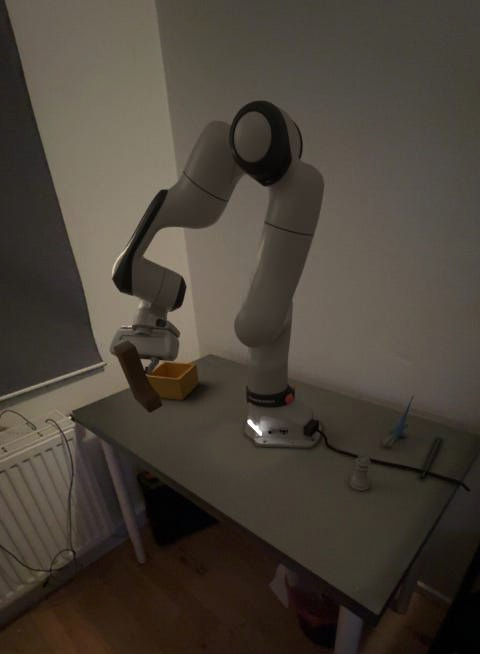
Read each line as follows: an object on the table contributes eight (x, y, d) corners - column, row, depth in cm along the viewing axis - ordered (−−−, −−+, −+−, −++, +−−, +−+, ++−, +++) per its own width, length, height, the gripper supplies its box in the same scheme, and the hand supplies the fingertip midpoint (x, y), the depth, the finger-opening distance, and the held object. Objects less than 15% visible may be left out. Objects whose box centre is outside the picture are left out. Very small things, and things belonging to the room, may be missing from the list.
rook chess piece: (365, 478, 83) (370, 451, 79) (372, 491, 79) (377, 463, 75) (346, 479, 83) (350, 452, 79) (352, 492, 79) (356, 465, 75)
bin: (198, 383, 133) (196, 364, 129) (182, 400, 122) (178, 379, 118) (167, 380, 137) (164, 361, 133) (149, 396, 127) (144, 376, 122)
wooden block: (163, 405, 99) (144, 353, 85) (149, 413, 97) (128, 361, 84) (147, 391, 104) (127, 339, 91) (134, 398, 102) (112, 346, 89)
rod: (441, 439, 94) (441, 437, 93) (423, 479, 81) (424, 477, 81) (438, 438, 94) (438, 436, 94) (420, 478, 82) (420, 476, 81)
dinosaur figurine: (389, 446, 99) (378, 444, 91) (410, 396, 96) (401, 390, 89) (399, 450, 97) (389, 449, 90) (421, 399, 95) (412, 394, 87)
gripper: (111, 320, 98) (99, 366, 96) (175, 322, 92) (163, 371, 89) (124, 330, 104) (113, 374, 102) (185, 333, 97) (175, 379, 95)
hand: (137, 373), depth 95 cm, fingers closed on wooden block, 5 cm apart
